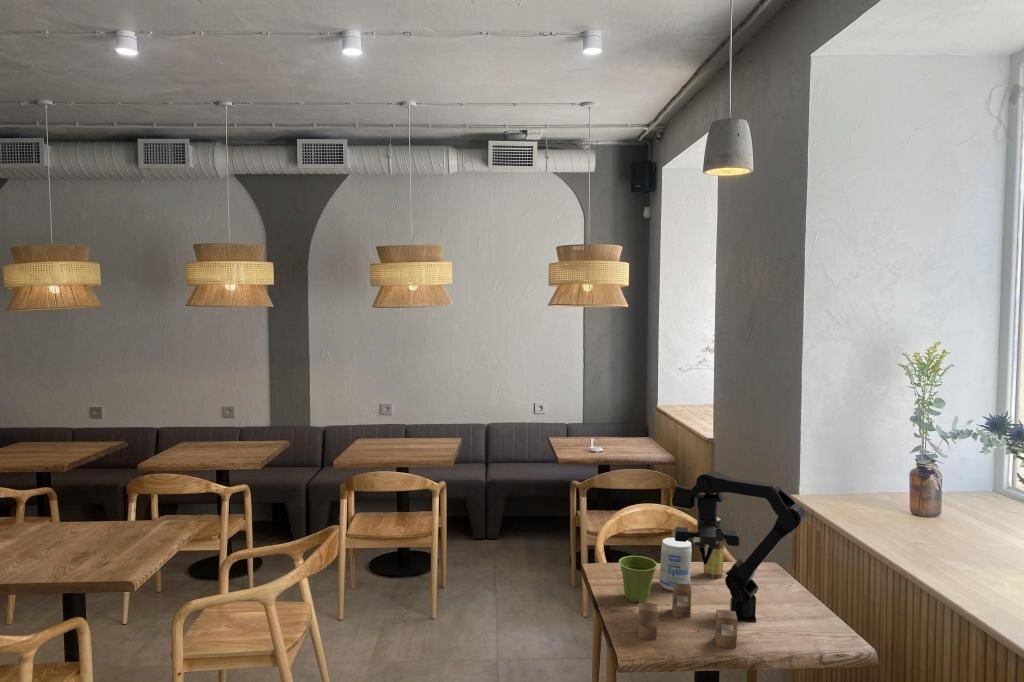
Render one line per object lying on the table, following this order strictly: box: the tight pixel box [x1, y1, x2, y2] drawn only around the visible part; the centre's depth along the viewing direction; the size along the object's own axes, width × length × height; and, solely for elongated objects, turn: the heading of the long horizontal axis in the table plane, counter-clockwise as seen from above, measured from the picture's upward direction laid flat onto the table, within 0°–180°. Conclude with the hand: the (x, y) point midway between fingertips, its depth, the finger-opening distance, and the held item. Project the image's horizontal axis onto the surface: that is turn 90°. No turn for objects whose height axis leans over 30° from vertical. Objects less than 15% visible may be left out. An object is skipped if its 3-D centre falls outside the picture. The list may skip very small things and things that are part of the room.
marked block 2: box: [714, 609, 738, 649], centre depth 197 cm, size 5×5×8 cm
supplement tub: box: [659, 537, 692, 592], centre depth 234 cm, size 10×10×15 cm
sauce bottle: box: [703, 516, 725, 579], centre depth 243 cm, size 6×6×20 cm
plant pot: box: [618, 555, 659, 603], centre depth 224 cm, size 12×12×11 cm
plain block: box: [637, 602, 658, 641], centre depth 201 cm, size 5×5×8 cm
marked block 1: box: [671, 583, 692, 618], centre depth 214 cm, size 5×5×8 cm
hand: (705, 563), depth 219 cm, fingers closed
